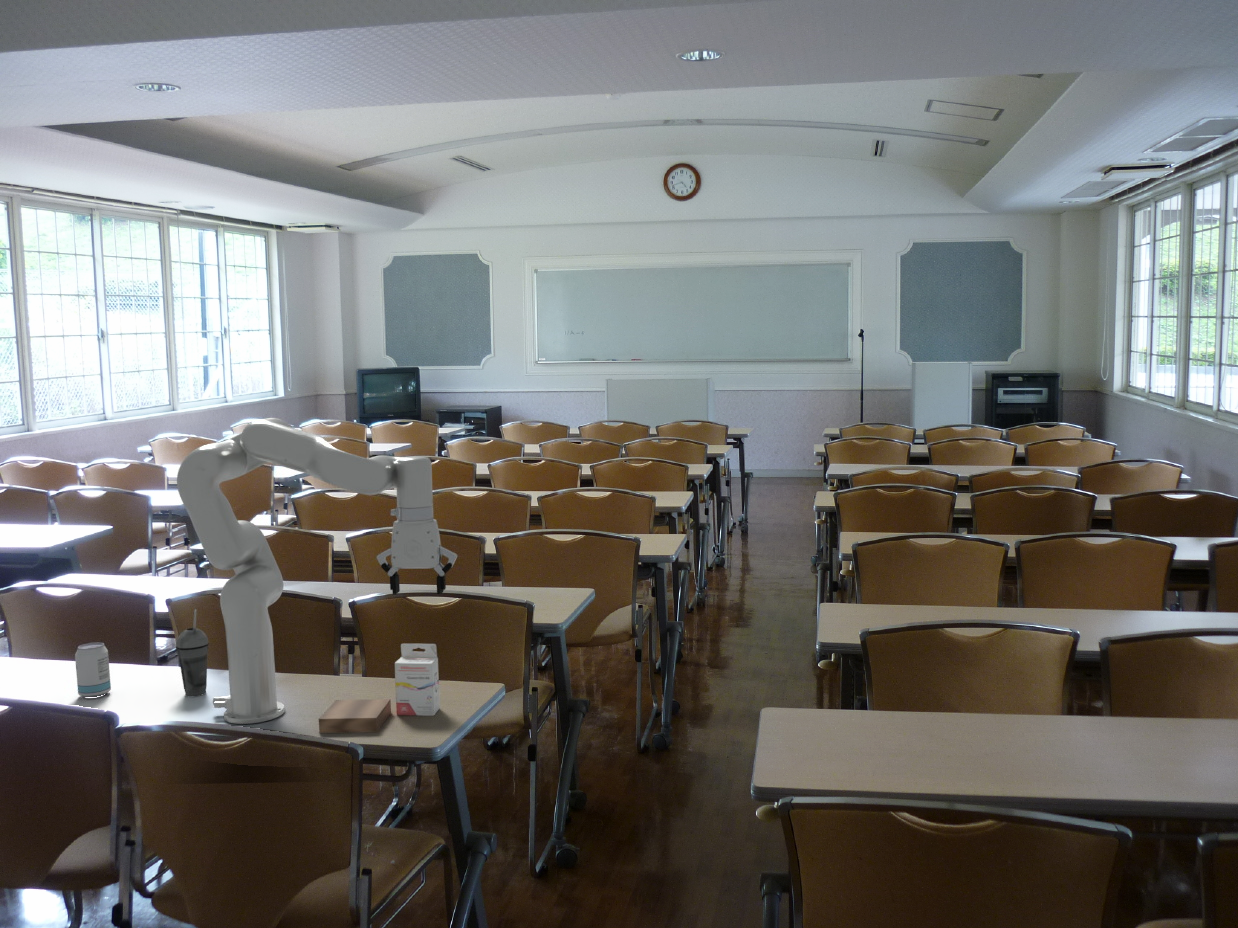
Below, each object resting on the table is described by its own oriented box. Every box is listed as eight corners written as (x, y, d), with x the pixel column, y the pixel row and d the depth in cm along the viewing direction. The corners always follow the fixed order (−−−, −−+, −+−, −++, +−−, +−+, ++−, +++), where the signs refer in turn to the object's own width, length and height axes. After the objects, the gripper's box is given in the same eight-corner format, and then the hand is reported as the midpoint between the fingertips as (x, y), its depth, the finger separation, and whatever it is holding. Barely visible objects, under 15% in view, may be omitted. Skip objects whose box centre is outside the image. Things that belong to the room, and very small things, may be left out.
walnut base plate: (319, 732, 218) (318, 718, 218) (336, 713, 230) (335, 699, 230) (377, 731, 218) (376, 717, 217) (391, 712, 229) (390, 698, 229)
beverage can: (85, 691, 251) (81, 642, 250) (115, 690, 251) (111, 640, 250) (73, 700, 244) (69, 650, 243) (104, 699, 245) (100, 648, 243)
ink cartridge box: (395, 715, 227) (392, 649, 226) (402, 708, 232) (399, 642, 231) (434, 716, 226) (431, 649, 225) (440, 708, 231) (437, 642, 230)
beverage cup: (178, 691, 249) (172, 608, 247) (211, 686, 252) (205, 604, 250) (179, 700, 242) (173, 614, 240) (213, 695, 245) (207, 610, 243)
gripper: (370, 517, 222) (373, 597, 223) (451, 516, 221) (454, 597, 222) (380, 512, 229) (383, 589, 231) (459, 511, 228) (461, 589, 230)
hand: (418, 593), depth 227 cm, fingers open, 9 cm apart
